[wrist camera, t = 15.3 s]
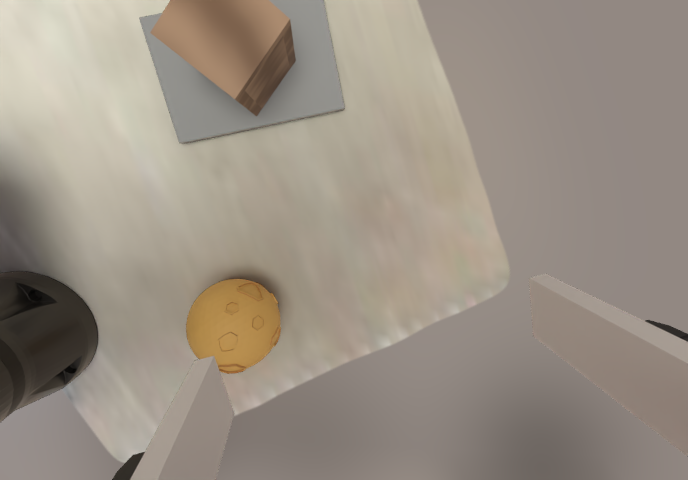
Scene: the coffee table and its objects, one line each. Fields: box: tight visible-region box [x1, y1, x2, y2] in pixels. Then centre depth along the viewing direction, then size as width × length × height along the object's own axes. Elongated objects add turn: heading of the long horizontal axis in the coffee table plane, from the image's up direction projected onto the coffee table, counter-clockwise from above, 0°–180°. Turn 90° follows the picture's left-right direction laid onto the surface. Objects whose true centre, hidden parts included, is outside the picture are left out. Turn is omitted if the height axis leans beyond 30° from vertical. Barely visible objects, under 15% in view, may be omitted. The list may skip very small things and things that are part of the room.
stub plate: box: [139, 0, 345, 144], centre depth 33 cm, size 18×12×8 cm, turn 102°
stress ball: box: [186, 279, 281, 374], centre depth 38 cm, size 10×10×10 cm
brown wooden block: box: [150, 0, 296, 116], centre depth 30 cm, size 7×7×11 cm
